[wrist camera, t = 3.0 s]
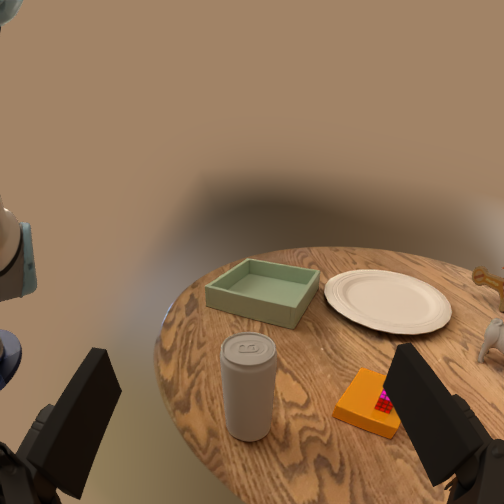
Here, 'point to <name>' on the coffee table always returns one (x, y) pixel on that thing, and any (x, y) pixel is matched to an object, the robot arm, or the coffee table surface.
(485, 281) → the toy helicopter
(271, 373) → the beverage can
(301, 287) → the tray
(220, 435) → the coffee table surface
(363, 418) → the orange square platform
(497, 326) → the grey stone animal figure
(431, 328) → the plate
